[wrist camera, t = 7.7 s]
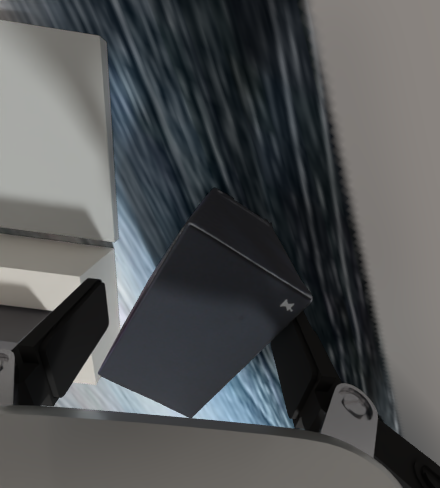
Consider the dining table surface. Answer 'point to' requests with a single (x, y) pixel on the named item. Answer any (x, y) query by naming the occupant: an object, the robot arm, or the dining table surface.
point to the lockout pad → (56, 133)
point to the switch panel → (58, 283)
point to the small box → (206, 308)
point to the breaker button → (18, 324)
